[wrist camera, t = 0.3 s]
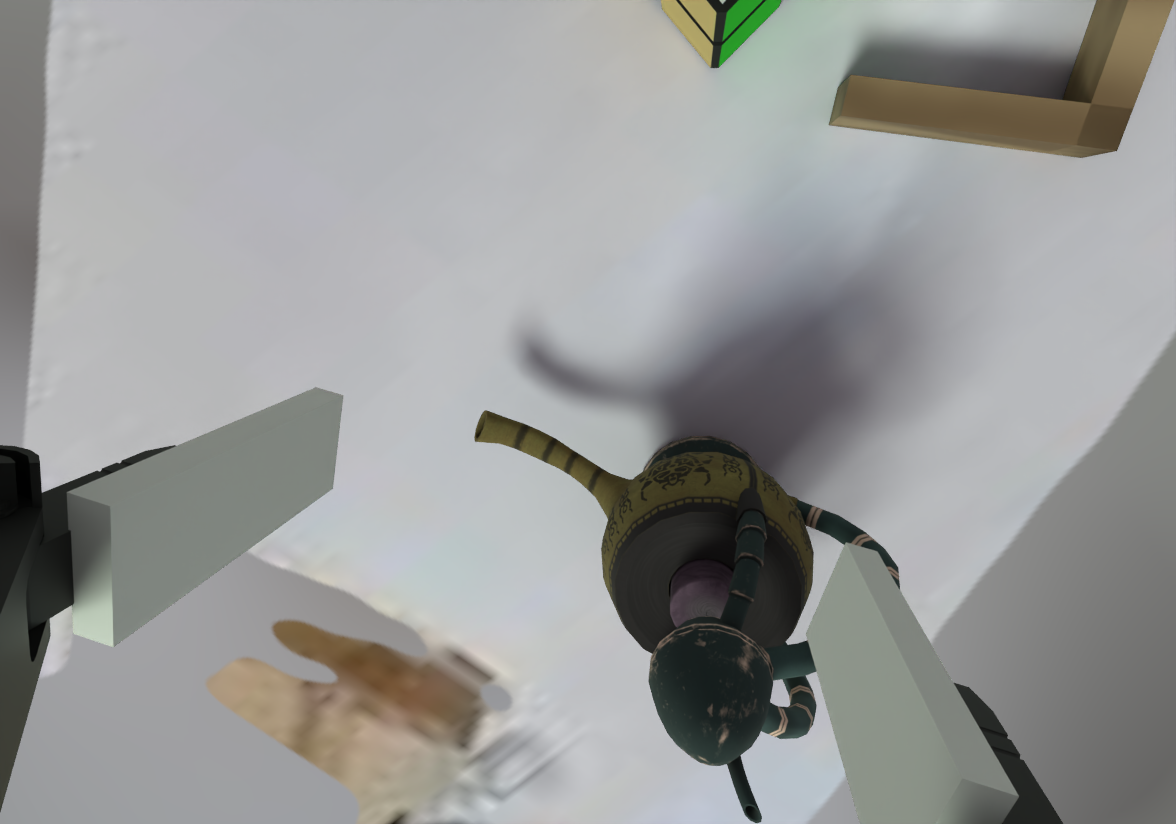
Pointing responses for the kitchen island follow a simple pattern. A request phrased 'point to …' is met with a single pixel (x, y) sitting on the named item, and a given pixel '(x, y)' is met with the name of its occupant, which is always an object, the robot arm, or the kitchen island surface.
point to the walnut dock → (1063, 127)
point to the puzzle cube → (718, 24)
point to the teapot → (706, 586)
